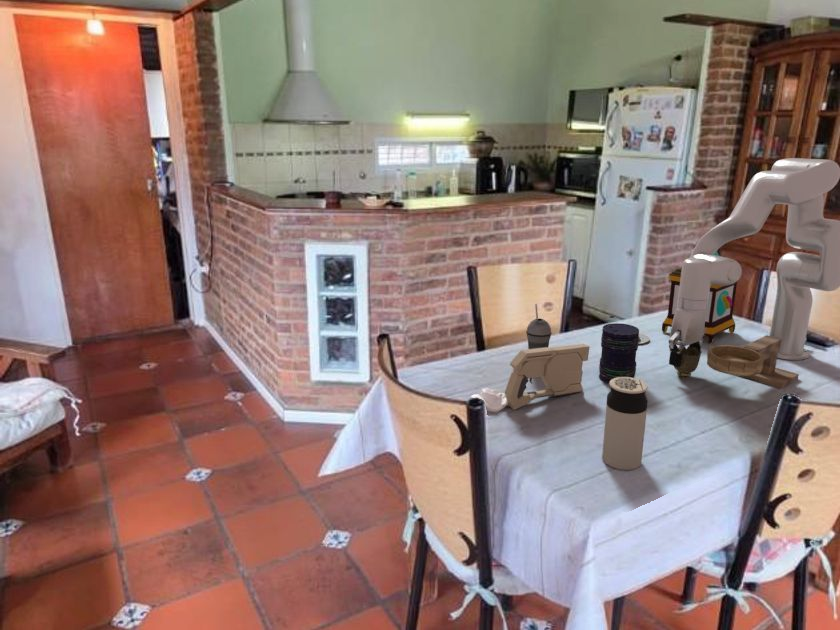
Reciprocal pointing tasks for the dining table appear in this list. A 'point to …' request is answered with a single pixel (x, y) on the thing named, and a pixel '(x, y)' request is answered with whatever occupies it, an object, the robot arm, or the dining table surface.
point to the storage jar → (618, 351)
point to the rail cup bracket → (752, 361)
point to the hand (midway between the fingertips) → (684, 361)
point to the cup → (688, 362)
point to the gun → (546, 372)
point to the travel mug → (625, 423)
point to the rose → (492, 399)
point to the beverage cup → (538, 333)
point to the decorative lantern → (717, 307)
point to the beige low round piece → (644, 337)
